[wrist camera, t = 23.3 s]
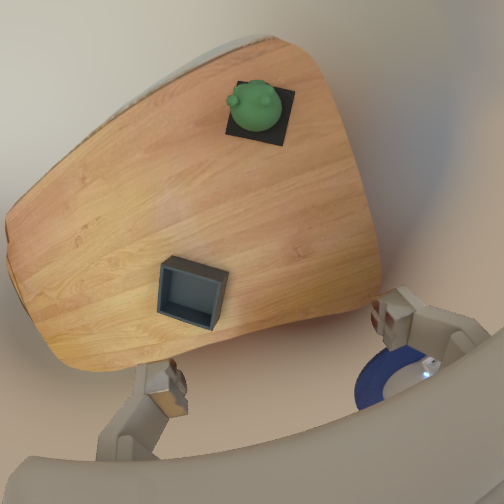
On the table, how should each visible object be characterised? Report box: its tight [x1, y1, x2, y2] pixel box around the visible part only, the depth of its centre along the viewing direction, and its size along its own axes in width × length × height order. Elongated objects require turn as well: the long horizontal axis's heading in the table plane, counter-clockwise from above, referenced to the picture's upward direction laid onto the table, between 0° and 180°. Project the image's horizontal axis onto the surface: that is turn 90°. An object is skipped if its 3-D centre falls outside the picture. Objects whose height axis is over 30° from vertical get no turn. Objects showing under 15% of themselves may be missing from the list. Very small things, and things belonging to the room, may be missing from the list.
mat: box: [225, 81, 295, 146], centre depth 41 cm, size 9×9×1 cm
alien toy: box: [227, 80, 282, 132], centre depth 36 cm, size 7×8×10 cm
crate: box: [157, 256, 229, 331], centre depth 50 cm, size 11×10×4 cm
